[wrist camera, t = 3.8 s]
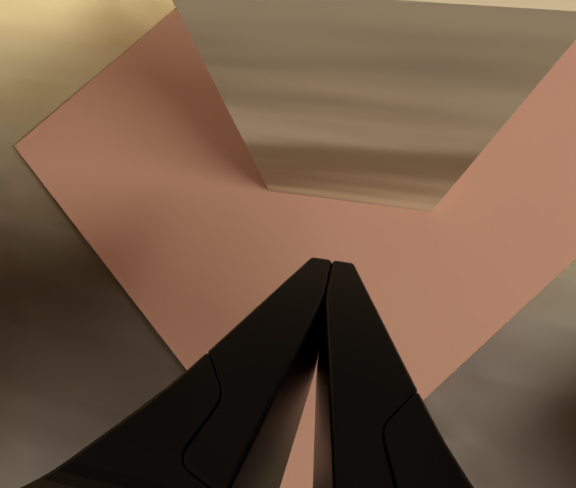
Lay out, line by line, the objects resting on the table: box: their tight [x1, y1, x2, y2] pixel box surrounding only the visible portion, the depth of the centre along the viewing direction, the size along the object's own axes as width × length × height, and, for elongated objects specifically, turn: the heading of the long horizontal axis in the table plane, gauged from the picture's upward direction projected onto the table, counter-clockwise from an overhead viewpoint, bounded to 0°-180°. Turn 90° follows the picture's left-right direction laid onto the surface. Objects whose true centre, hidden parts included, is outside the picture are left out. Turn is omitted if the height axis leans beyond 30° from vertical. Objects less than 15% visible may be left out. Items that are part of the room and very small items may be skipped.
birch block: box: [173, 0, 576, 212], centre depth 11 cm, size 4×6×10 cm, turn 80°
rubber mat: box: [14, 8, 576, 488], centre depth 16 cm, size 20×18×1 cm
